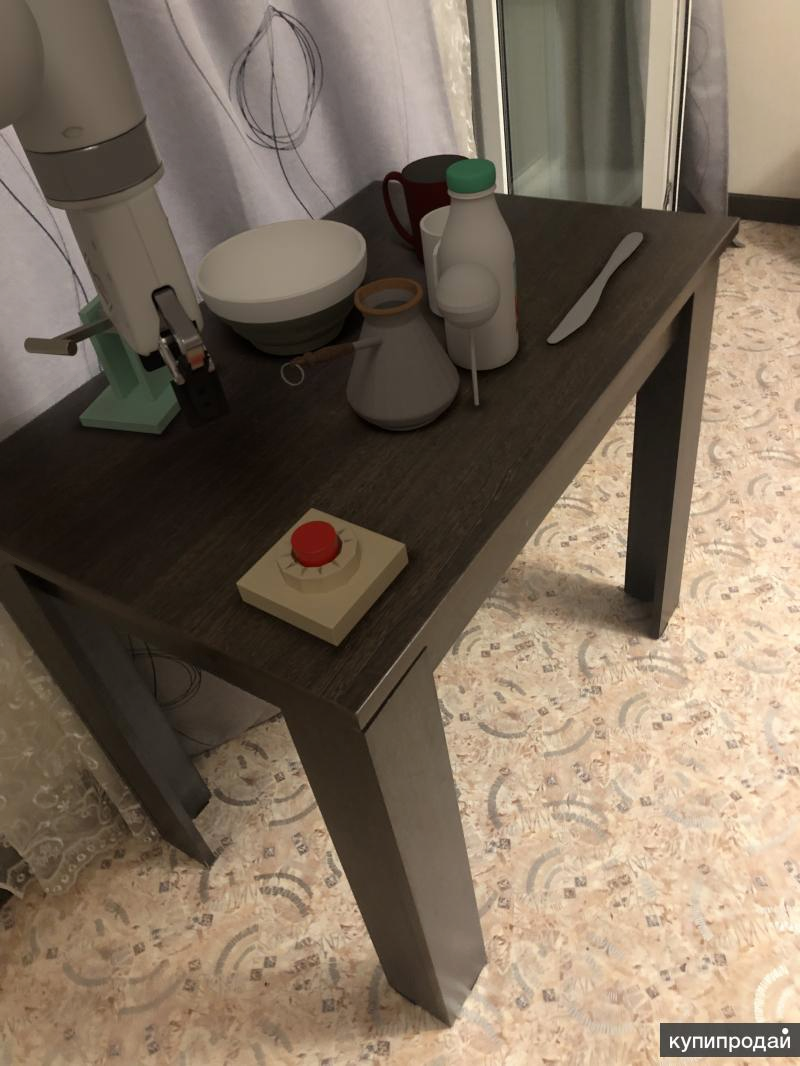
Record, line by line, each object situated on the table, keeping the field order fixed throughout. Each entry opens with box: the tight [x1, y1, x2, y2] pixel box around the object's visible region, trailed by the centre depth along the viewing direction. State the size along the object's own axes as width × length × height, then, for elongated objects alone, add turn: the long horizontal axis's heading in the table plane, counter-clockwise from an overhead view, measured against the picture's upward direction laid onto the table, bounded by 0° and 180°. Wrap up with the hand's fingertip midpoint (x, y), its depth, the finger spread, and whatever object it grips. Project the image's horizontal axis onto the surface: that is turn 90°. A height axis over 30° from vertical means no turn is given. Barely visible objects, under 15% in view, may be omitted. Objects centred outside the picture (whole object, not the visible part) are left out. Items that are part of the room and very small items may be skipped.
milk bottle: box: [439, 157, 519, 371], centre depth 82 cm, size 8×8×20 cm
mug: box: [381, 153, 470, 265], centre depth 104 cm, size 12×9×11 cm
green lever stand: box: [77, 294, 181, 435], centre depth 88 cm, size 12×10×12 cm
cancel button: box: [291, 521, 339, 567], centre depth 65 cm, size 4×4×2 cm
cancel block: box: [235, 507, 409, 647], centre depth 66 cm, size 10×10×4 cm
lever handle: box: [23, 308, 119, 357], centre depth 81 cm, size 12×5×2 cm, turn 162°
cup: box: [420, 206, 450, 318], centre depth 93 cm, size 8×12×10 cm
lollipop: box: [435, 262, 501, 406], centre depth 77 cm, size 6×6×15 cm
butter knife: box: [546, 231, 644, 344], centre depth 96 cm, size 1×27×3 cm
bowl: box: [193, 218, 368, 356], centre depth 94 cm, size 20×20×10 cm
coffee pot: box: [280, 277, 460, 432], centre depth 76 cm, size 21×12×15 cm, turn 151°
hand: (185, 390), depth 62 cm, fingers open, 9 cm apart
